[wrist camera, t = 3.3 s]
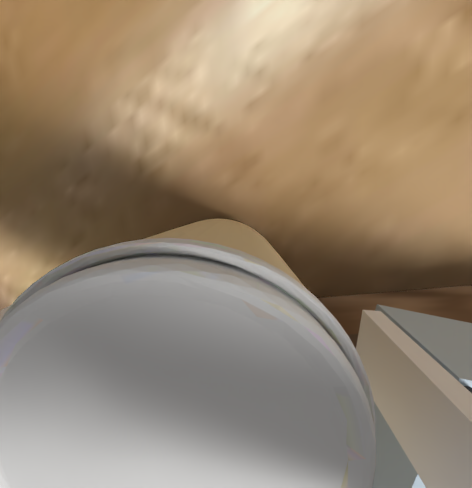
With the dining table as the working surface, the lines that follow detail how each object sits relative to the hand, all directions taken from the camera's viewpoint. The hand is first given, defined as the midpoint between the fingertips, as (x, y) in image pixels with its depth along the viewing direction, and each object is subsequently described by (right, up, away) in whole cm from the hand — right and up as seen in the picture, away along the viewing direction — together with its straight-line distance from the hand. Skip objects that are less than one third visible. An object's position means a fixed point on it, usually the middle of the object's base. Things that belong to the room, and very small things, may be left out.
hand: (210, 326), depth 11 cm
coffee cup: (0, +2, +6) cm, 6 cm away
